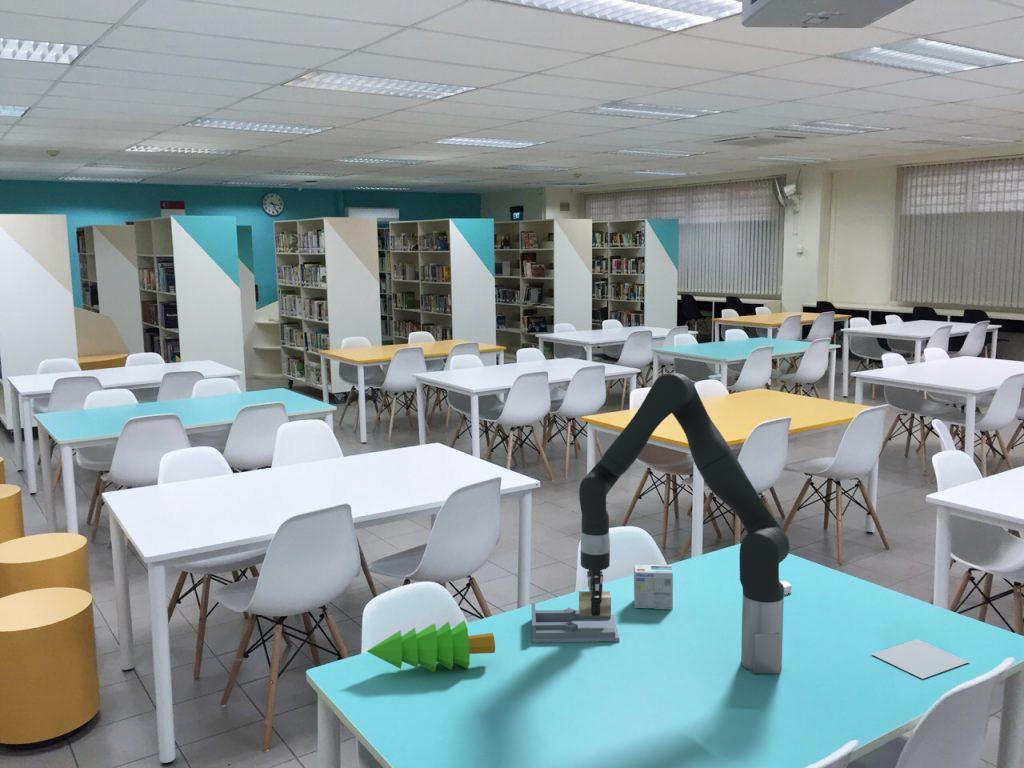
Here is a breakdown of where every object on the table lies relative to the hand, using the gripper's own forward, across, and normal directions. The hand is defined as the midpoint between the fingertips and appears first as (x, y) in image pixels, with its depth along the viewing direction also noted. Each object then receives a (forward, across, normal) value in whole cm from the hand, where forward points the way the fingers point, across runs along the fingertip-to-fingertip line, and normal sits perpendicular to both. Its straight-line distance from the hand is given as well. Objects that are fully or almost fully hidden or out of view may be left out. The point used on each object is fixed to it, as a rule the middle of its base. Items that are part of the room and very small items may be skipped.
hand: (594, 611), depth 217 cm
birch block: (0, 0, 0) cm, 0 cm away
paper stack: (+5, -12, -77) cm, 78 cm away
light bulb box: (+5, +16, -18) cm, 24 cm away
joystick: (+5, +25, -52) cm, 58 cm away
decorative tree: (+5, -20, +40) cm, 46 cm away
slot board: (+5, 0, +5) cm, 7 cm away
